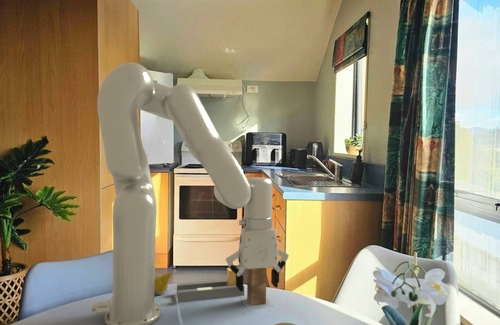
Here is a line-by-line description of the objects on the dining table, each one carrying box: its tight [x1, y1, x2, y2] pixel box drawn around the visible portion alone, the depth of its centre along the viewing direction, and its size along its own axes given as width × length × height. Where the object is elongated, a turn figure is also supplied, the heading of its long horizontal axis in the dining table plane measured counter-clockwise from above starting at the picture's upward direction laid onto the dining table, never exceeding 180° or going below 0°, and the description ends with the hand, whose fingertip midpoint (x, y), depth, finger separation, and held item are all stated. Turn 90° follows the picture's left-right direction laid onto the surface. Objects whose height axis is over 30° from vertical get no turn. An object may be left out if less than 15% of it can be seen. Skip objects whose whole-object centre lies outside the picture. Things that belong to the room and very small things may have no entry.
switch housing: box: [176, 278, 245, 305], centre depth 93 cm, size 18×6×3 cm, turn 107°
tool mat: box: [240, 296, 274, 310], centre depth 88 cm, size 7×7×1 cm
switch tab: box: [226, 267, 236, 286], centre depth 95 cm, size 3×3×5 cm
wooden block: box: [246, 268, 268, 306], centre depth 88 cm, size 4×4×10 cm
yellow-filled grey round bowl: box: [154, 272, 172, 296], centre depth 93 cm, size 5×5×10 cm
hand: (257, 287), depth 88 cm, fingers open, 9 cm apart
